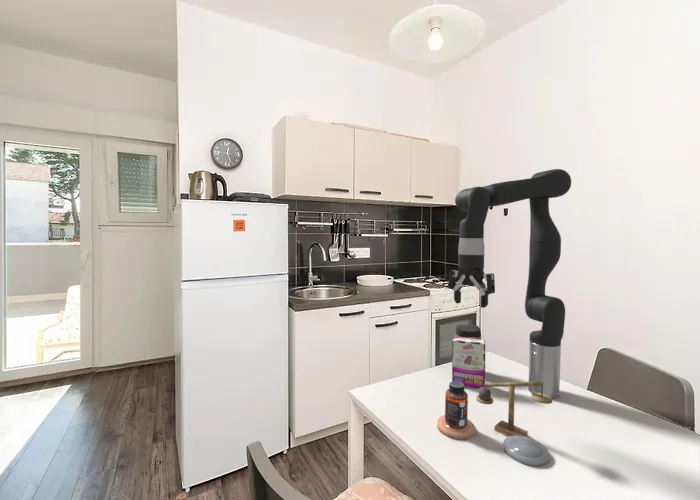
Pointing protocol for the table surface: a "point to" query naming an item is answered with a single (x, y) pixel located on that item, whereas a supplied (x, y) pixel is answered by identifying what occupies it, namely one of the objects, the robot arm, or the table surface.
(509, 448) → the slate dish
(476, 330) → the coffee jar
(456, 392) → the supplement bottle
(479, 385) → the candy bar box
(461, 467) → the table surface
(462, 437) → the terracotta dish
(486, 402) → the balance
